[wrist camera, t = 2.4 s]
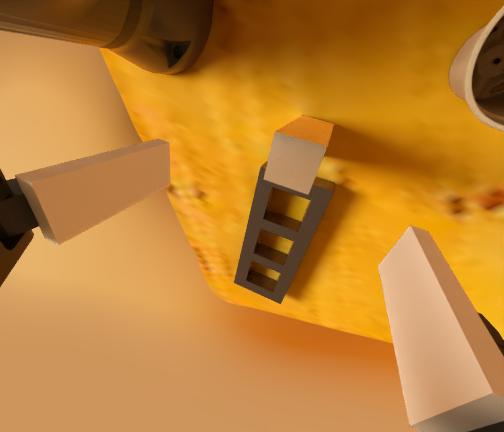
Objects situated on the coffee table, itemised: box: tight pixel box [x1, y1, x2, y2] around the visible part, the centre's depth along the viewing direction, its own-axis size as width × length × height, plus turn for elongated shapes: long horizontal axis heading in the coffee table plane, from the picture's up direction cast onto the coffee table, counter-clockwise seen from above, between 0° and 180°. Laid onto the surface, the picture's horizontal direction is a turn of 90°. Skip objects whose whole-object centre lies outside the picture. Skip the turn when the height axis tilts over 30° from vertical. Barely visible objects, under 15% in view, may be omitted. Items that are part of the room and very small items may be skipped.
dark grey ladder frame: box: [234, 161, 335, 304], centre depth 36 cm, size 25×10×3 cm, turn 166°
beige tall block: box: [264, 115, 334, 195], centre depth 22 cm, size 4×4×13 cm
